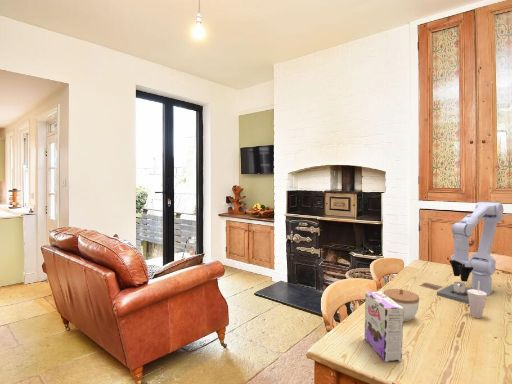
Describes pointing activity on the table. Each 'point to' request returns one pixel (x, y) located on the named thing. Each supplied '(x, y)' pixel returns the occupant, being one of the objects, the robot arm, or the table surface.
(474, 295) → the smoothie
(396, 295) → the lidded bowl
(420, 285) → the tab
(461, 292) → the steel peg
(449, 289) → the hole plate
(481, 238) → the robot arm
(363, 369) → the table surface
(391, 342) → the candy box
